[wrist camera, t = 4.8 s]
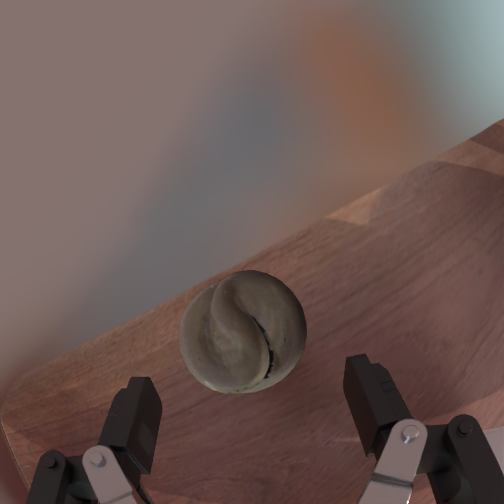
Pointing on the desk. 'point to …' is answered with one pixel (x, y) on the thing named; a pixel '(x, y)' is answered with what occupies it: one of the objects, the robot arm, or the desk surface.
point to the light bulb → (243, 333)
